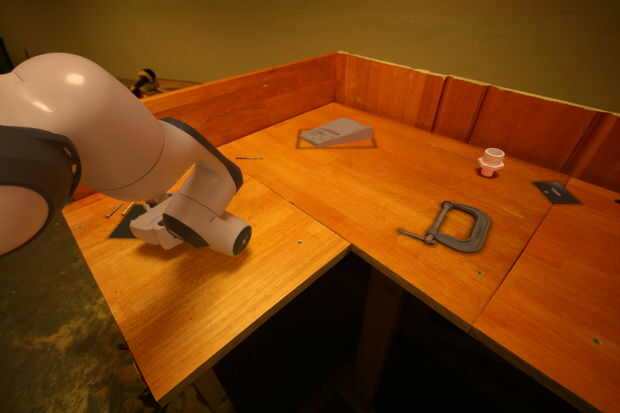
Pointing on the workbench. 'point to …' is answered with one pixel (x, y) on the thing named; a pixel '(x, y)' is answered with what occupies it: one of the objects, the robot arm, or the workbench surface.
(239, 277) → the workbench surface
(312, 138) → the ramp
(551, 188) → the solid state drive
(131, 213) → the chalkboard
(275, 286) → the workbench surface
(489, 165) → the pipe fitting
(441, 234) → the c clamp
